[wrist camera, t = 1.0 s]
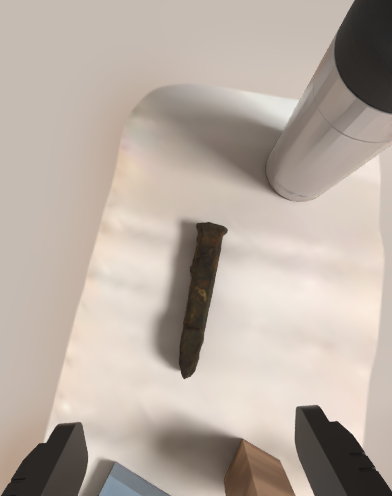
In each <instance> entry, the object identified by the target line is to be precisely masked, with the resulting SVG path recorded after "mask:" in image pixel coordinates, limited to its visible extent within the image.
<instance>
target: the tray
mask: <svg viewBox="0 0 392 496" xmlns="http://www.w3.org/2000/svg"><path fill="white" fill-rule="evenodd" d="M98 496H169V495H168V494H166V493H165V492H163V491H162V490H160V489H158V488H157V487H155V486H154V485H152V484H150V483H149V482H147V481H146V480H144V479H142V478H141V477H139V476H138V475H136V474H134V473H133V472H131V471H130V470H128V469H126V468H125V467H123V466H122V465H120V464H118V463H117V462H115V464H114V466H113V468H112V470H111V472H110V474H109V476H108V478H107V480H106V481H105V483H104V485H103V487H102V489H101V491H100V493H99V495H98Z"/></svg>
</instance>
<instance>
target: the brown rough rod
mask: <svg viewBox="0 0 392 496" xmlns="http://www.w3.org/2000/svg"><path fill="white" fill-rule="evenodd" d="M196 227H197V230H198V237H197V242H198V243H197V247H196V251H195V254H194V259H193V263H192V266H191V267H190V272H191V283H190V289H189V296H188V302H187V307H186V314H185V319H184V323H183V324H184V326H183V332H182V336H181V342H180V355H179V365H180V368H181V374H182V377H183V378H184V379H186V378H188V377H191V375H192V374H193V373H194V372H195V369H196V366H197V363H198V360H199V352H200V349H201V346H202V344H203V341H204V331H205V327H206V322H207V317H208V311H209V307H210V302H211V298H212V293H213V287H214V282H215V276H216V271H217V267H218V261H219V256H220V252H221V243H222V237H223V236H224V235H225V234H226V233H227V231H228V229H227V228H226V227H224V226H221V225H217V224H214V223H210V222H207V223H197V225H196Z"/></svg>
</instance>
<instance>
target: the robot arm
mask: <svg viewBox="0 0 392 496" xmlns="http://www.w3.org/2000/svg"><path fill="white" fill-rule="evenodd" d="M391 145H392V0H355V1H354V3H353V4H352V6H351V8H350V9H349V11H348V13H347V15H346V17H345V19H344V20H343V22H342V24H341V26H340V28H339V30H338V32H337V33H336V35H335V37H334V39H333V40H332V42H331V44H330V46H329V48H328V49H327V51H326V53H325V55H324V57H323V59H322V60H321V62H320V64H319V66H318V68H317V70H316V72H315V74H314V75H313V77H312V79H311V81H310V83H309V85H308V86H307V88H306V90H305V92H304V94H303V95H302V97H301V99H300V101H299V103H298V104H297V106H296V108H295V110H294V112H293V113H292V115H291V117H290V119H289V121H288V123H287V124H286V126H285V128H284V130H283V132H282V133H281V135H280V137H279V139H278V141H277V142H276V144H275V146H274V148H273V150H272V152H271V154H270V155H269V157H268V160H267V164H266V174H267V178H268V181H269V183H270V185H271V186H272V187H273V189H274V190H275V191H276V192H277V193H278V194H279V195H281V196H283V197H284V198H287V199H289V200H292V201H309V200H312V199H315V198H317V197H319V196H320V195H321V194H323V193H324V192H326V191H327V190H328V189H330V188H331V187H333V186H334V185H336V184H337V183H339V182H340V181H341V180H343V179H344V178H346V177H347V176H348V175H350V174H351V173H353V172H354V171H355V170H357V169H358V168H360V167H361V166H362V165H364V164H365V163H367V162H368V161H370V160H371V159H372V158H374V157H375V156H377V155H378V154H379V153H381V152H382V151H384V150H385V149H386V148H388V147H389V146H391ZM295 445H296V450H297V453H298V457H299V460H300V462H301V464H302V467H303V469H304V471H305V474H306V476H307V479H308V481H309V483H310V486H311V488H312V490H313V493H314V495H315V496H392V491H391V490H390V488H389V487H388V485H387V484H386V482H385V481H384V479H383V478H382V477H381V475H380V474H379V472H378V471H376V469H375V466H374V465H373V463H372V462H371V461H370V459H369V458H368V456H366V455H365V452H364V450H363V449H362V447H361V446H360V445H359V443H358V442H357V440H356V439H355V437H354V436H353V435H352V434H351V433H350V432H349V431H348V430H347V429H346V428H344V427H343V426H342V425H341V424H340V423H339V422H338V421H335V422H329V420H328V419H327V417H326V416H325V414H324V412H323V411H322V409H321V408H320V407H319V406H318V405H310V406H298V407H297V408H296V419H295ZM87 464H88V452H87V447H86V441H85V436H84V431H83V426H82V423H81V422H76V423H63V424H58V425H57V426H56V427H55V429H54V430H53V432H52V434H51V435H50V437H49V439H48V441H47V442H46V443H40V444H38V445H37V446H36V448H34V449H33V451H32V452H31V453H30V454H29V455H28V456H27V457H26V458H25V459H24V460H23V461H22V463H21V465H20V466H19V468H18V470H17V471H16V473H15V474H14V476H13V477H12V479H11V482H10V483H9V484H8V485H7V487H6V489H5V490H4V492H3V493H2V495H1V496H78V493H79V490H80V488H81V485H82V482H83V480H84V477H85V474H86V470H87Z"/></svg>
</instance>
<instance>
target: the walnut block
mask: <svg viewBox="0 0 392 496" xmlns="http://www.w3.org/2000/svg"><path fill="white" fill-rule="evenodd" d="M224 484H225V493H226V496H295V494H294V491H293V489H292V487H291V484H290V482H289V480H288V478H287V475H286V473H285V471H284V469H283V466H282V464H281V462H280V460H278V459H276V458H275V457H273V456H271V455H270V454H268V453H266V452H264V451H263V450H261V449H259V448H258V447H256V446H254V445H253V444H251V443H249V442H247V441H246V440H244V439H242V441H241V443H240V445H239V448H238V450H237V452H236V454H235V456H234V458H233V460H232V463H231V465H230V467H229V469H228V471H227V473H226V476H225V478H224Z"/></svg>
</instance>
